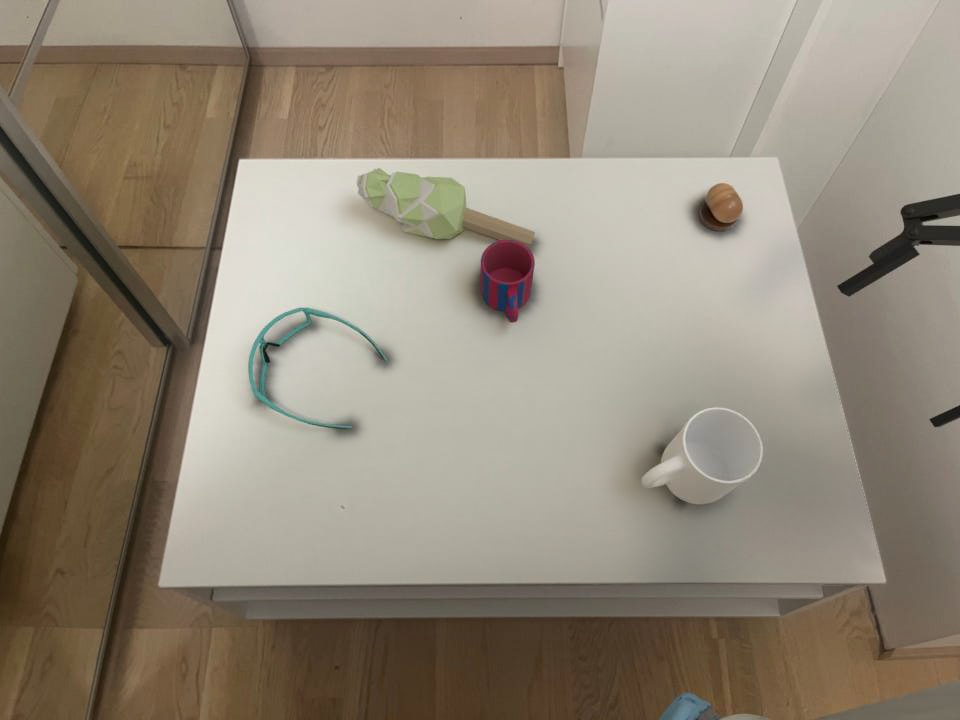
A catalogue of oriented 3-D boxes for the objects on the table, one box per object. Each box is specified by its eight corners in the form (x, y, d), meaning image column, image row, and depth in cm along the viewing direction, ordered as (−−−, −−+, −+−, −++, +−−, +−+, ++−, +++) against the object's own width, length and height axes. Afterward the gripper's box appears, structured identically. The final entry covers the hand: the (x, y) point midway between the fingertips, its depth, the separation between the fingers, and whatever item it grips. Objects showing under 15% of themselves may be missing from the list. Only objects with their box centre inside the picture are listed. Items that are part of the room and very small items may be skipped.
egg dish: (743, 227, 93) (757, 204, 89) (710, 237, 93) (722, 215, 88) (723, 196, 96) (736, 172, 91) (691, 205, 95) (702, 182, 90)
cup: (529, 268, 90) (533, 239, 84) (532, 334, 86) (536, 308, 80) (480, 268, 90) (480, 239, 84) (480, 334, 86) (480, 308, 80)
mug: (647, 526, 76) (670, 505, 66) (618, 459, 79) (637, 430, 70) (741, 493, 77) (777, 468, 68) (709, 429, 81) (739, 397, 71)
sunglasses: (291, 307, 88) (285, 289, 83) (394, 351, 87) (394, 335, 82) (235, 399, 82) (224, 384, 77) (344, 447, 81) (340, 435, 76)
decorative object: (540, 207, 94) (370, 146, 92) (544, 216, 85) (356, 148, 83) (519, 265, 97) (354, 208, 95) (520, 280, 88) (338, 216, 86)
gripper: (1319, 349, 45) (982, 482, 56) (1062, 92, 55) (820, 250, 66) (1353, 340, 39) (972, 489, 51) (1061, 55, 49) (796, 235, 61)
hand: (886, 354), depth 59 cm, fingers open, 13 cm apart
